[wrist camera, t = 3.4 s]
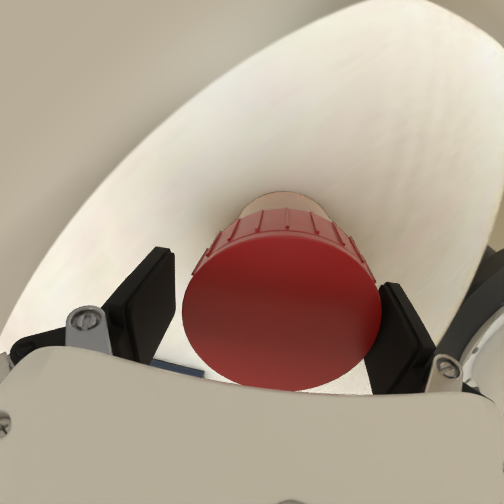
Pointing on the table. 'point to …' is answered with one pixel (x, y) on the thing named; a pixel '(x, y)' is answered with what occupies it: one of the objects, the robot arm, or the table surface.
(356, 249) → the lid
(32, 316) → the table surface
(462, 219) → the table surface
